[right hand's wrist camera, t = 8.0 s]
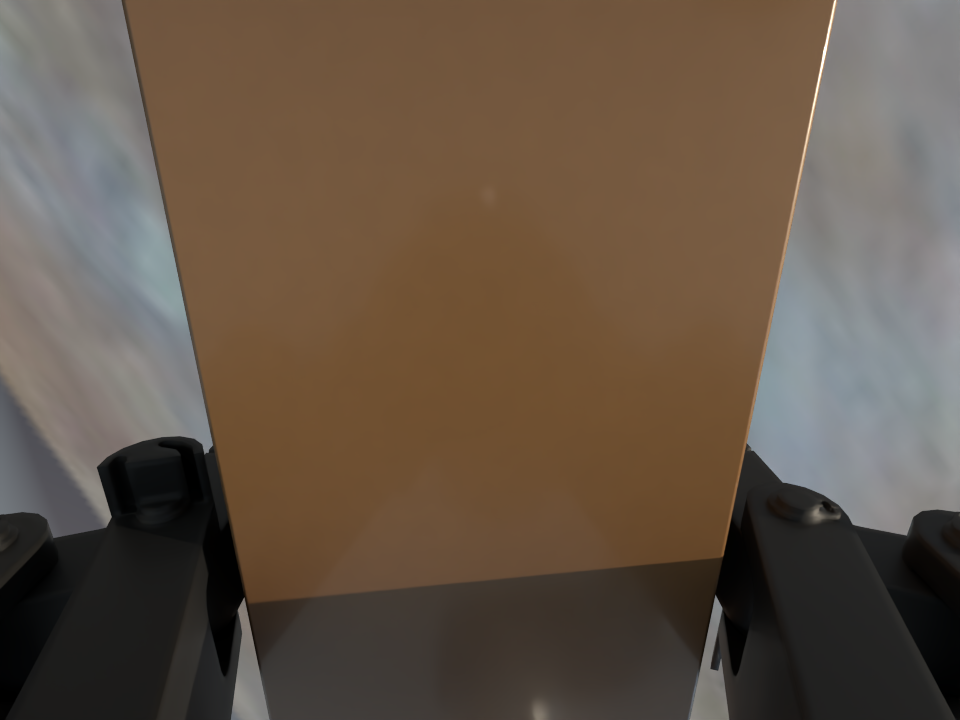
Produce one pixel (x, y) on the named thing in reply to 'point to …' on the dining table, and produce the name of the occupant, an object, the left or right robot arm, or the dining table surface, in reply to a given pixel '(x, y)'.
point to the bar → (479, 328)
